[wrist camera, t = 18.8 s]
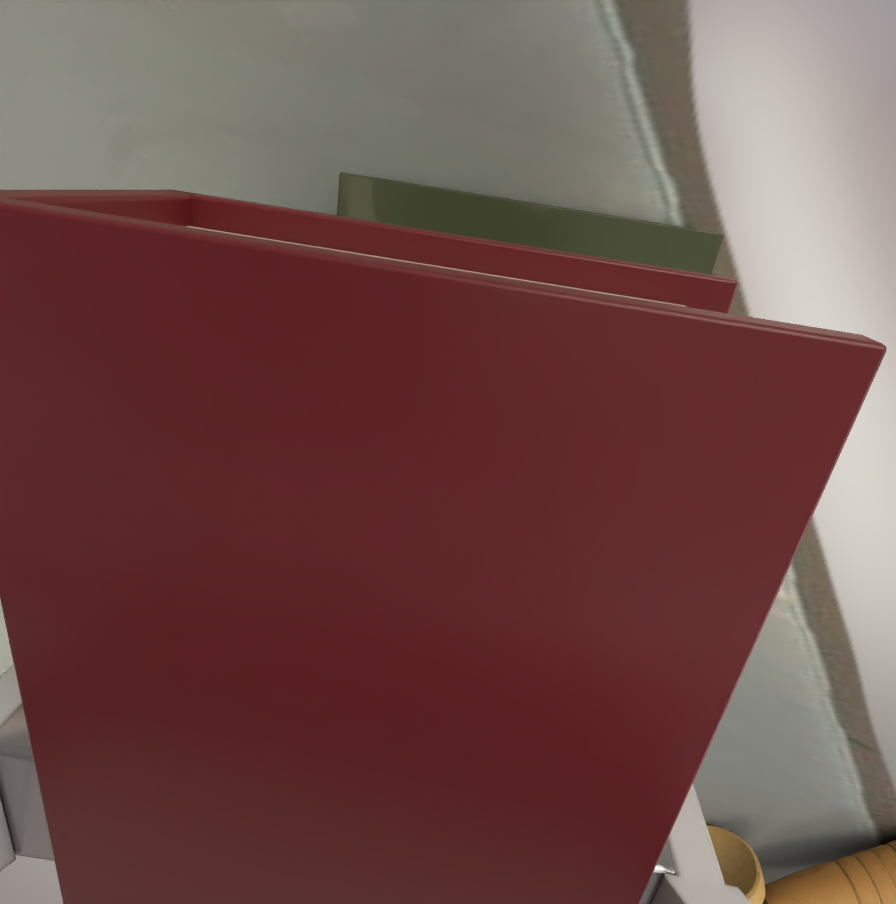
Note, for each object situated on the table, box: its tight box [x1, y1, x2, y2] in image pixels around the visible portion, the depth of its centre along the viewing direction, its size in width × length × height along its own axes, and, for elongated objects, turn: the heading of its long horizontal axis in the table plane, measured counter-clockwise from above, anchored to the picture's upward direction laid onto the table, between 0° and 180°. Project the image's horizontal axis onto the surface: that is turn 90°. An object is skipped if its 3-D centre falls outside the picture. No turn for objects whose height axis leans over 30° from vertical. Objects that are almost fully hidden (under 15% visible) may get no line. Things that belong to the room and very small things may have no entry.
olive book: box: [337, 173, 724, 275], centre depth 23 cm, size 16×12×3 cm
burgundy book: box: [0, 190, 886, 904], centre depth 8 cm, size 13×6×3 cm, turn 172°
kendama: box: [706, 825, 896, 904], centre depth 31 cm, size 8×6×18 cm
